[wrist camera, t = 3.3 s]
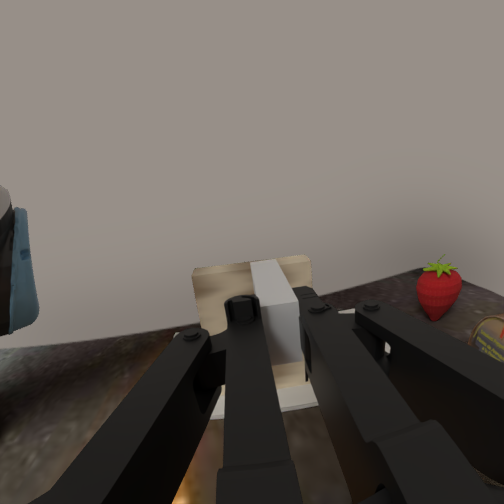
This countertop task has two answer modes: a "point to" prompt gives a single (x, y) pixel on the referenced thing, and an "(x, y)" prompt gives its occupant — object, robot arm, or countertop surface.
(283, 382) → the board
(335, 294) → the countertop surface
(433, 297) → the strawberry
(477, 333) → the tin
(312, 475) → the countertop surface
